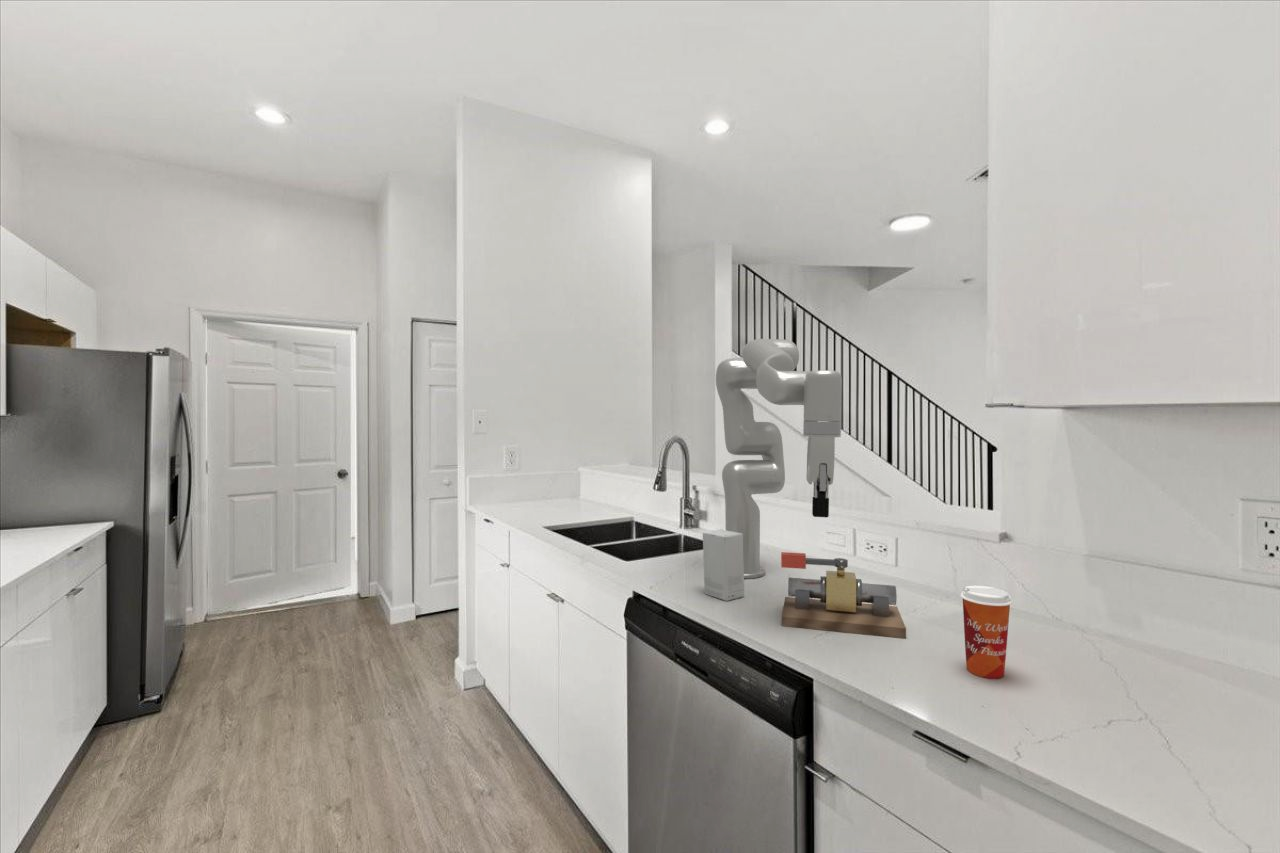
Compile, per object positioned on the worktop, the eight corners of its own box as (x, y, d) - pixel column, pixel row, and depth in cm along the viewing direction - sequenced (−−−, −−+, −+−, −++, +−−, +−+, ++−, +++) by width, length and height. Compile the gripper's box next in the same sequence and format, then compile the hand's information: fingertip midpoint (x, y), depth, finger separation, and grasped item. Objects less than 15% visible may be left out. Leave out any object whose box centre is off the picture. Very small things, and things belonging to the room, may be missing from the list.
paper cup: (963, 677, 100) (964, 595, 99) (956, 659, 107) (957, 582, 106) (1017, 684, 97) (1018, 600, 97) (1006, 666, 104) (1007, 587, 104)
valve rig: (781, 625, 124) (781, 573, 124) (785, 605, 137) (785, 558, 137) (905, 638, 117) (906, 583, 117) (896, 615, 130) (897, 565, 130)
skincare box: (745, 597, 143) (745, 533, 143) (724, 602, 140) (725, 536, 139) (721, 589, 150) (721, 528, 150) (701, 593, 147) (701, 531, 146)
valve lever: (846, 568, 129) (847, 555, 129) (848, 571, 127) (848, 558, 127) (781, 564, 133) (781, 552, 133) (781, 567, 130) (781, 554, 130)
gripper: (801, 427, 132) (800, 509, 133) (805, 431, 117) (803, 522, 118) (836, 428, 130) (835, 510, 131) (844, 431, 116) (843, 524, 117)
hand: (820, 516), depth 125 cm, fingers closed
